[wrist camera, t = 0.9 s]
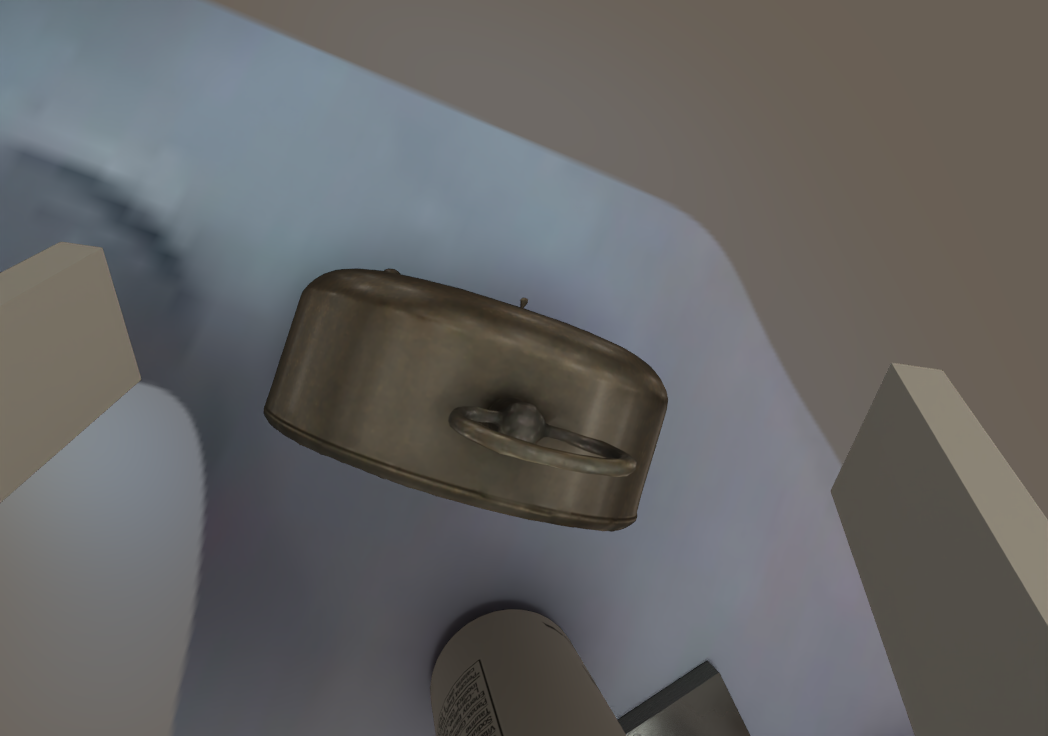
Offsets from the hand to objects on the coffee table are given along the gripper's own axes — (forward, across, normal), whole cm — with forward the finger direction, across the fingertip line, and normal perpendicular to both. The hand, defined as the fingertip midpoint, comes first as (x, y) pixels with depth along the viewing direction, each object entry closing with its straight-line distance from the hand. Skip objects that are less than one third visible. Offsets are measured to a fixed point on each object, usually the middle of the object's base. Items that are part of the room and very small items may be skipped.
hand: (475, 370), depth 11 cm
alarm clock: (+12, -3, -8) cm, 15 cm away
